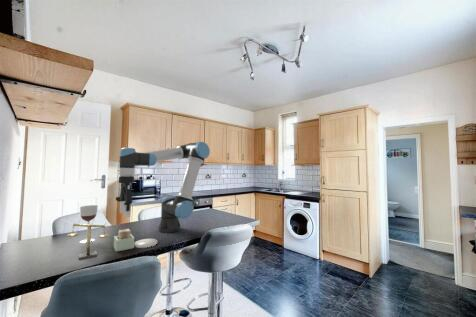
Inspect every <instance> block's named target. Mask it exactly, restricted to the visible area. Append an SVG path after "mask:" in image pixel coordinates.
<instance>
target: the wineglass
mask: <svg viewBox="0 0 476 317" xmlns="http://www.w3.org/2000/svg"><path fill="white" fill-rule="evenodd" d="M98 207H99V206H98V205H97V204H96V205H95V204H91V205H82V206H80V208H79V211H80V217H81V219H82V220H83V221H85V222H87V225H90V222H91V221H92V220H94V219H95V218H96V216H97V214H98V209H99V208H98ZM86 231H88V227H86ZM91 241H92V242H95V241H96V239H95V238H91ZM91 241H90V243H92V242H91ZM86 242H87V238H86V239H82V240H80V241H79V243H80V244H87V243H86Z"/></svg>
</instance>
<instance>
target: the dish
mask: <svg viewBox="0 0 476 317" xmlns="http://www.w3.org/2000/svg"><path fill="white" fill-rule="evenodd" d="M158 241H159V240H157V239H156V238H144V239H143V238H142V239H139V240H136V241H134V248H137V249H146V248H147V247H148V248H151V246H152V247H155V246H157V245H158ZM156 244H157V245H156Z"/></svg>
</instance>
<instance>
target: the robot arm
mask: <svg viewBox="0 0 476 317" xmlns="http://www.w3.org/2000/svg"><path fill="white" fill-rule="evenodd" d="M210 152H211V151H210V147H209V145H208V143H206V142H204V141H197V142H189V143H185V144H182V145H178V146H176V147H173V148H167V149H166V148H165V149H161V150H154V151H147V152H137V151H136V149H135V148H133V147H122V148H121V149H120V150H119V169H118V170H117V172H118V175H119V176H118V184H120V187H121V188H120V192H119V200H120V202H119V214H123V213H124V214H123V215H124V216H123V218H130V217H131V211H132V210H131V208H132V204H133V200H132V199H133V198H132V195H133V194H132V185H131V184H134V182H135V170H136V169H135V168H136V167H143V166H144V167H147V166H148V167H151V166H152V167H154V166H155V165H156V163H158V162H164V161H169V160H175V159H180V160H182V159H188V163H187V167H186V170H185V173H184V176H183V179H182V182H181V186H180V189H179V192H178V193H177V194H176V195H175V196H166V197H162V199H161V212H160V214H161V215H160V221H159V224H158V227H157V231H158V232H159V233H164V234H165V233H166V234H167V233H174V232H175V233H177V232H178V231H181V226H182V224H181V223H180V220H179V219H186V218H189V217H190V216H191V215H192V214H193V212H194V204H193V200H194V199H193V197H192V196H193V192H194V189H195V185H196V183H197V178H198V175H199V171H200V169H201V165H202V164H203V163H204V162H205V159H206V158H208V157H209V156H210V154H211V153H210Z"/></svg>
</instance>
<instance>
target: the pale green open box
mask: <svg viewBox="0 0 476 317" xmlns="http://www.w3.org/2000/svg"><path fill="white" fill-rule="evenodd" d="M134 243H135V236H133V234H132V233H130V238H125V239H120V240H118V235H114V236H113V248H114V250H115V252H120V251H126V250H131V249H134V248H135V246H134Z"/></svg>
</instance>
